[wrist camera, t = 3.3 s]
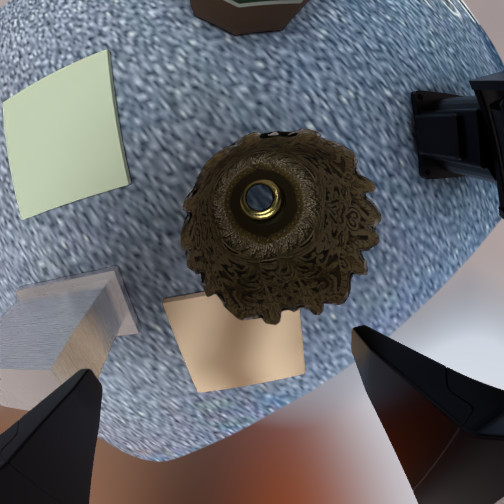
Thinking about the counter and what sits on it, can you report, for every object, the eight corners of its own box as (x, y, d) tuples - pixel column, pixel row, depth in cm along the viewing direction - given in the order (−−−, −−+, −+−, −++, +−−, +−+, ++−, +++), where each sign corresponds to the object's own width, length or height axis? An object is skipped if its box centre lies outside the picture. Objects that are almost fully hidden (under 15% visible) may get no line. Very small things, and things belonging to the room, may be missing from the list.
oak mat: (294, 274, 19) (296, 277, 19) (303, 368, 23) (305, 373, 22) (163, 298, 19) (162, 303, 19) (198, 387, 22) (198, 392, 22)
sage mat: (110, 51, 13) (107, 49, 12) (131, 183, 16) (128, 184, 16) (7, 103, 13) (2, 103, 12) (26, 217, 16) (22, 220, 15)
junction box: (117, 265, 18) (52, 360, 9) (141, 327, 20) (106, 434, 11) (19, 286, 18) (-49, 357, 8) (44, 337, 19) (-7, 416, 10)
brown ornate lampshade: (206, 260, 19) (198, 337, 11) (190, 143, 16) (165, 141, 8) (319, 247, 19) (374, 310, 12) (315, 134, 16) (382, 129, 9)
